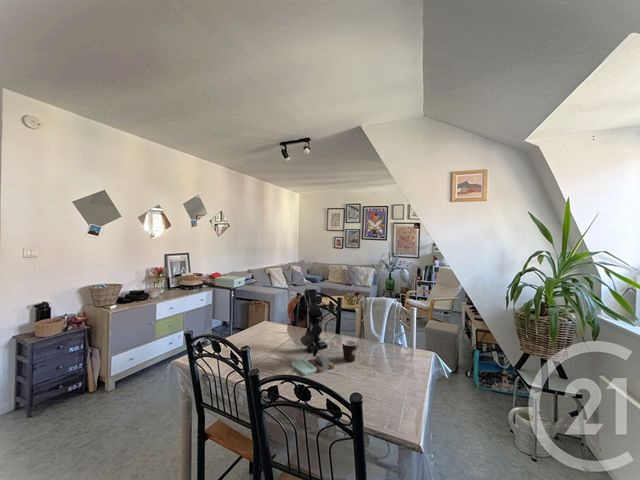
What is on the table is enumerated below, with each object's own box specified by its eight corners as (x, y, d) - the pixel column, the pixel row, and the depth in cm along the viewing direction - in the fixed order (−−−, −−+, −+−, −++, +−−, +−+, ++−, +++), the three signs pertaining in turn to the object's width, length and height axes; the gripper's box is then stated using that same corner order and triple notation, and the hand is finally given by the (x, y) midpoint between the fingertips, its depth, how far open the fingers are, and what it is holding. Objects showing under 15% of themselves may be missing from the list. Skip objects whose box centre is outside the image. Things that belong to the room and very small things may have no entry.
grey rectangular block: (315, 365, 158) (315, 356, 158) (321, 363, 160) (321, 354, 160) (322, 371, 151) (322, 361, 151) (329, 369, 153) (329, 360, 153)
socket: (307, 363, 159) (307, 360, 159) (321, 359, 164) (321, 356, 164) (320, 372, 149) (320, 369, 149) (334, 368, 154) (334, 364, 154)
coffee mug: (345, 363, 159) (345, 346, 159) (340, 357, 168) (340, 340, 168) (363, 361, 163) (363, 344, 162) (357, 355, 171) (358, 339, 171)
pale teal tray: (291, 365, 157) (291, 362, 157) (303, 362, 161) (303, 358, 161) (304, 375, 145) (304, 372, 145) (317, 371, 150) (317, 368, 150)
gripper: (294, 327, 165) (294, 354, 165) (311, 337, 150) (311, 366, 150) (310, 324, 171) (310, 349, 171) (328, 333, 156) (328, 361, 156)
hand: (314, 356), depth 162 cm, fingers closed
